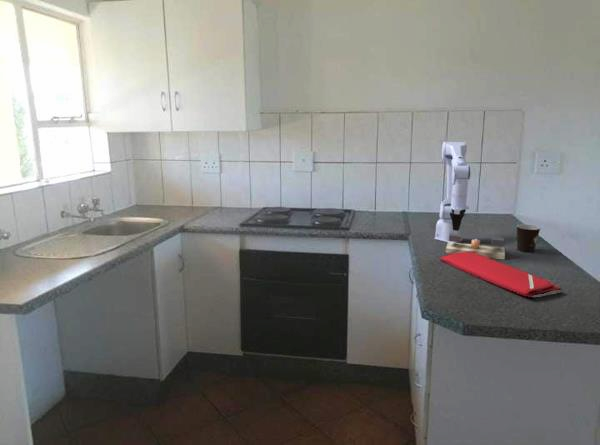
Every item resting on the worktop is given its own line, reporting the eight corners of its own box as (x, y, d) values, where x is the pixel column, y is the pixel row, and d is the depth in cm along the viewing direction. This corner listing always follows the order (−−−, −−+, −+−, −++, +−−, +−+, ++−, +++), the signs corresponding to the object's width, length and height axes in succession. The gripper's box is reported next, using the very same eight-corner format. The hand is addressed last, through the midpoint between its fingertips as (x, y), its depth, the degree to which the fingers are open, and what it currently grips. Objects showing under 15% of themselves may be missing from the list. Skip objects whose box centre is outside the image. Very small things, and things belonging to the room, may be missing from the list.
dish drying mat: (471, 257, 186) (472, 248, 185) (562, 294, 149) (564, 283, 148) (439, 262, 180) (440, 252, 179) (525, 302, 143) (526, 290, 142)
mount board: (445, 252, 189) (446, 246, 189) (447, 246, 199) (448, 240, 198) (504, 259, 182) (505, 253, 181) (503, 252, 191) (504, 246, 190)
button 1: (449, 241, 191) (449, 235, 190) (449, 238, 195) (450, 232, 194) (460, 242, 189) (460, 236, 189) (460, 239, 193) (461, 233, 193)
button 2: (491, 245, 185) (491, 239, 184) (491, 242, 189) (491, 236, 188) (503, 246, 183) (503, 240, 183) (502, 243, 187) (503, 237, 187)
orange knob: (470, 248, 189) (471, 240, 188) (471, 246, 192) (471, 238, 191) (479, 249, 188) (480, 241, 187) (479, 247, 190) (480, 239, 190)
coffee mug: (524, 254, 188) (527, 230, 186) (509, 248, 197) (512, 225, 194) (548, 252, 192) (551, 228, 189) (532, 246, 200) (535, 223, 197)
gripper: (469, 198, 180) (466, 233, 183) (470, 193, 193) (467, 225, 196) (449, 197, 182) (447, 231, 185) (452, 192, 195) (450, 224, 198)
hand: (456, 228), depth 191 cm, fingers open, 7 cm apart
